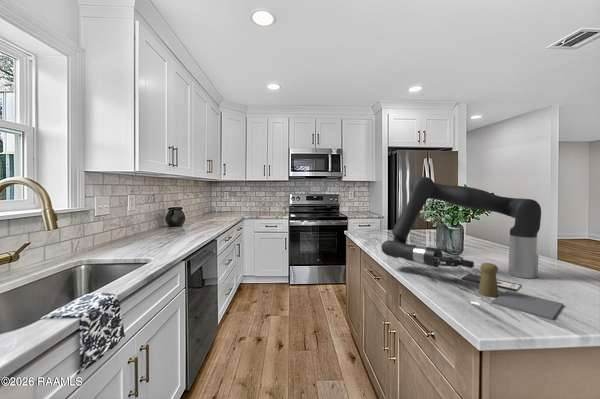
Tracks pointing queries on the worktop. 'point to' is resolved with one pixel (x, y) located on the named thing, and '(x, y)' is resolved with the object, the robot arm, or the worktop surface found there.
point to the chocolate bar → (500, 283)
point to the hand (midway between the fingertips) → (473, 264)
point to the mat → (528, 304)
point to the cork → (488, 280)
